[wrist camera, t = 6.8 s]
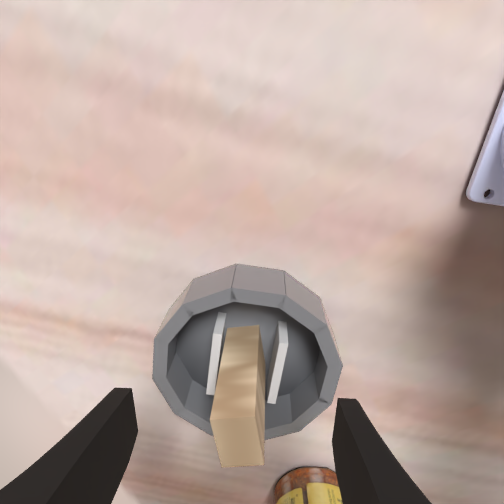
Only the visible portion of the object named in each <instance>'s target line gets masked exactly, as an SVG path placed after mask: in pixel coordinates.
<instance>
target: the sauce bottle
mask: <svg viewBox="0 0 504 504" xmlns="http://www.w3.org/2000/svg"><path fill="white" fill-rule="evenodd" d="M274 504H343V502H342V498H341V494H340V489H339V485H338V480H337V476H336V473H335V472H334V471H332V470H330V469H329V468H319V467H303V468H298V469H296V470H292V471H290V472H289V473H287V474H286V475H285V476H283V477H282V478H281V479H280V480H279V482H278V483H277V484H276V487H275V494H274Z"/></svg>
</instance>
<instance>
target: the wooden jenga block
mask: <svg viewBox="0 0 504 504" xmlns="http://www.w3.org/2000/svg"><path fill="white" fill-rule="evenodd" d="M265 365H266V364H265V358H264V352H263V345H262V339H261V333H260V327H259V325H254V326H243V327H233V328H227V332H226V337H225V343H224V348H223V353H222V358H221V364H220V369H219V374H218V379H217V384H216V390H215V395H214V400H213V405H212V411H211V416H210V423H211V427H212V431H213V435H214V439H215V443H216V447H217V451H218V455H219V459H220V463H221V467H222V468H223V467H240V466H257V465H264V432H265Z"/></svg>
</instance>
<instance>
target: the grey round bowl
mask: <svg viewBox="0 0 504 504" xmlns="http://www.w3.org/2000/svg"><path fill="white" fill-rule="evenodd" d="M254 325H259V327H260V333H261V339H262V345H263V352H264V358H265V364H266V365H265V432H264V440H267V439H271V438H275V437H279V436H283V435H287V434H291V433H295V432H299V431H301V430H302V429H303V428H304V427H305V426H306V425H308V424H309V423H310V422H311V421H312V420H314V419H315V418H316V417H317V416H318V415H319V414H321V413H322V412H323V411H324V410H325V409H326V408H328V407H329V406H330V405H331V404H332V401H333V397H334V394H335V391H336V387H337V384H338V380H339V377H340V374H341V370H342V367H343V365H342V361H341V358H340V354H339V351H338V347H337V344H336V340H335V337H334V333H333V331H332V328H331V326H330V323H329V320H328V318H327V315H326V312H325V310H324V307H323V304H322V302H321V299H320V297H319V296H317V295H316V294H315V293H313V292H312V291H311V290H309V289H308V288H307V287H305V286H304V285H302V284H301V283H300V282H298V281H297V280H296V279H294V278H293V277H292V276H290V275H289V274H288V273H286V272H285V271H283V270H276V269H269V268H262V267H255V266H248V265H241V264H237V265H236V264H234V265H232V266H229V267H226V268H223V269H220V270H218V271H215V272H212V273H209V274H206V275H204V276H201V277H198V278H195V279H193V280H192V282H191V283H190V284H189V285H188V287H187V288H186V289H185V290H184V292H183V293H182V294H181V295H180V296H179V298H178V299H177V300H176V301H175V303H174V304H173V305H172V306H171V308H170V309H169V310H168V312H167V314H166V316H165V318H164V320H163V322H162V324H161V326H160V328H159V330H158V332H157V334H156V336H155V338H154V353H153V378H152V379H153V381H154V382H155V384H156V385H157V387H158V389H159V390H160V392H161V393H162V395H163V396H164V398H165V400H166V401H167V403H168V404H169V406H170V408H171V409H172V411H173V412H174V413H175V414H176V415H178V416H179V417H181V418H183V419H184V420H186V421H188V422H189V423H191V424H193V425H194V426H196V427H198V428H200V429H201V430H203V431H205V432H206V433H208V434H210V435H211V436H214V435H213V431H212V427H211V423H210V416H211V411H212V405H213V400H214V395H215V390H216V384H217V379H218V374H219V369H220V364H221V358H222V353H223V348H224V343H225V337H226V332H227V328H233V327H243V326H254Z"/></svg>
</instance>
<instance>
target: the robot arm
mask: <svg viewBox="0 0 504 504" xmlns="http://www.w3.org/2000/svg"><path fill="white" fill-rule="evenodd" d="M488 189H489V190H490V194H489V195H488V196H487V197H484V193H485V191H487V190H488ZM466 196H467V198H468V199H469V200H471V201H474V202H478V203H485V204H492V205H499V206H504V91H503V93H502V96H501V99H500V101H499V104H498V107H497V110H496V112H495V115H494V118H493V120H492V123H491V126H490V128H489V131H488V134H487V136H486V139H485V142H484V144H483V147H482V150H481V152H480V155H479V158H478V160H477V163H476V166H475V169H474V171H473V174H472V177H471V179H470V182H469V185H468V187H467V190H466ZM137 434H138V427H137V420H136V414H135V407H134V400H133V393H132V388H114V389H113V390H112V391H111V392H110V393H109V394H108V395H107V396H106V397H105V398H104V399H103V400H102V401H101V402H100V403H99V404H98V405H97V406H96V407H95V408H94V409H92V410H91V411H90V412H89V413H88V414H87V415H86V416H85V417H84V418H83V419H82V420H81V421H80V422H79V423H78V424H77V425H76V426H75V427H74V428H73V429H72V430H71V431H70V432H69V433H68V434H67V435H66V436H64V438H62V439H61V440H60V441H59V442H58V443H57V444H56V445H54V446H53V447H52V448H51V449H50V450H49V451H48V452H47V453H45V454H44V455H43V456H42V457H41V458H40V459H39V460H37V461H36V462H35V463H34V464H33V465H31V466H30V467H29V468H28V469H27V470H25V471H24V472H23V473H22V474H20V475H19V476H18V477H17V478H15V479H14V480H13V481H12V482H10V483H9V484H8V485H6V486H5V487H4V488H2V489H1V490H0V504H111V503H112V500H113V498H114V496H115V494H116V491H117V489H118V487H119V484H120V482H121V479H122V477H123V475H124V472H125V470H126V468H127V465H128V463H129V460H130V457H131V454H132V450H133V447H134V444H135V440H136V437H137ZM332 446H333V454H334V462H335V470H336V476H337V480H338V485H339V489H340V494H341V498H342V502H343V504H432V503H431V502H430V501H429V500H428V499H427V498H426V496H425V495H424V494H423V493H422V492H421V490H420V489H419V488H418V487H417V485H416V484H415V483H414V482H413V480H412V479H411V478H410V477H409V475H408V474H407V473H406V471H405V470H404V469H403V468H402V466H401V465H400V463H399V462H398V461H397V459H396V458H395V457H394V455H393V454H392V452H391V451H390V450H389V448H388V447H387V445H386V444H385V443H384V441H383V440H382V438H381V437H380V435H379V434H378V432H377V431H376V429H375V428H374V426H373V425H372V423H371V421H370V420H369V418H368V417H367V415H366V413H365V412H364V410H363V408H362V407H361V405H360V403H359V402H358V401H357V400H356V399H346V398H338V401H337V408H336V416H335V423H334V430H333V438H332Z"/></svg>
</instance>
